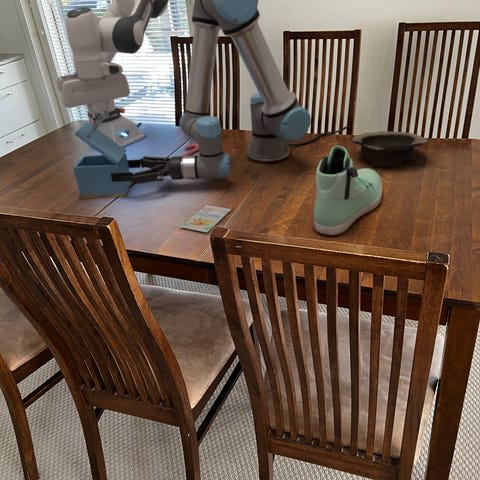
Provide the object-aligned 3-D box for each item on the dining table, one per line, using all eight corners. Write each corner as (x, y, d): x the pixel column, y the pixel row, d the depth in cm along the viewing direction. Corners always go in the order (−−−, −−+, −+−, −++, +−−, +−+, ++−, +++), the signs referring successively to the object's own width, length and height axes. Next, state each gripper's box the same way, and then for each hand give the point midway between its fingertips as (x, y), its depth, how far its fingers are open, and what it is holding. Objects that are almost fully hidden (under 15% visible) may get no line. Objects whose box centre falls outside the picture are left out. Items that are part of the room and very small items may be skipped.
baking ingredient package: (180, 226, 135) (206, 203, 147) (180, 227, 136) (206, 205, 147) (207, 231, 132) (231, 208, 143) (207, 232, 132) (231, 209, 143)
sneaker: (389, 187, 148) (396, 123, 138) (356, 242, 123) (361, 168, 112) (346, 181, 154) (350, 119, 144) (306, 232, 129) (307, 161, 118)
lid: (74, 134, 146) (87, 114, 143) (84, 124, 155) (97, 104, 151) (116, 165, 151) (130, 146, 147) (124, 153, 159) (138, 135, 156)
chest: (81, 198, 158) (72, 167, 152) (90, 185, 166) (83, 155, 161) (124, 196, 157) (118, 165, 151) (132, 183, 165) (126, 153, 159)
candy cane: (166, 159, 182) (166, 155, 181) (191, 146, 192) (191, 142, 191) (178, 161, 179) (177, 158, 178) (203, 148, 189) (203, 144, 188)
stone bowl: (385, 177, 154) (386, 150, 149) (337, 159, 174) (336, 134, 170) (441, 159, 162) (444, 132, 158) (389, 143, 183) (390, 119, 178)
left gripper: (57, 77, 134) (69, 125, 141) (127, 65, 143) (135, 111, 150) (52, 74, 139) (64, 121, 146) (120, 63, 147) (128, 107, 154)
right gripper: (179, 193, 148) (109, 196, 150) (189, 165, 167) (127, 167, 169) (175, 171, 144) (103, 174, 146) (186, 144, 163) (123, 147, 165)
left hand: (100, 116), depth 148 cm, fingers closed, pressing on lid
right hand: (116, 170), depth 157 cm, fingers closed on chest, 10 cm apart
